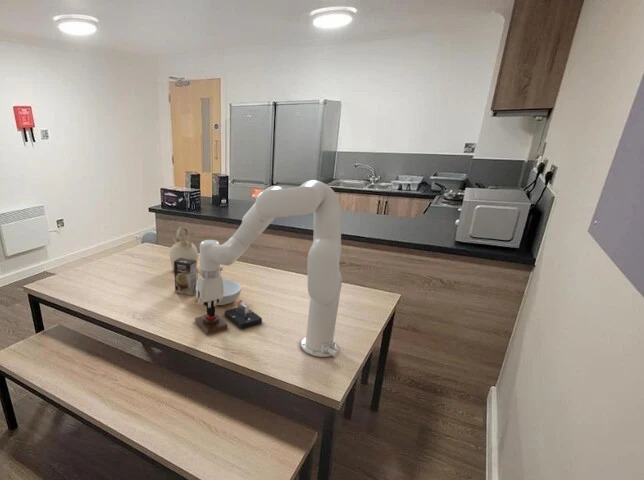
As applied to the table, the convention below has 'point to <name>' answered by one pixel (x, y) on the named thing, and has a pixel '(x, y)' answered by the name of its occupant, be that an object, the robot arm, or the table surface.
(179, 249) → the jug
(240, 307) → the rotary selector knob
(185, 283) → the coffee box
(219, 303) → the serving bowl
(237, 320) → the tap console
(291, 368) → the table surface
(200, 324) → the control block
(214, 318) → the button
